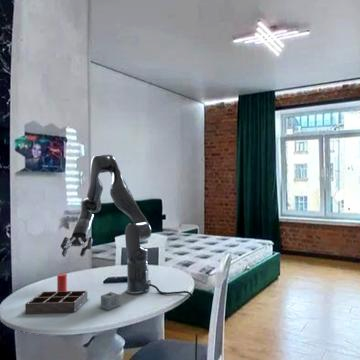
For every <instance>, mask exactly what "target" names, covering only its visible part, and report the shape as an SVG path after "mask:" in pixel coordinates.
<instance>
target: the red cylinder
mask: <svg viewBox="0 0 360 360" xmlns="http://www.w3.org/2000/svg"><path fill="white" fill-rule="evenodd" d="M56 279H57V280H56V281H57V282H56V283H57V288H56V289H57V290H56V291H68V274H67V273H59V274H57V277H56Z"/></svg>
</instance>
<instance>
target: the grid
mask: <svg viewBox="0 0 360 360" xmlns="http://www.w3.org/2000/svg"><path fill="white" fill-rule="evenodd" d="M87 300H88V290H67V291H57V290H56V291H42V292H40V293H39V294H38V295H36V296H35V297H33V298H31V299H30V300H29V301H27V302H26V303H25V304H24V305H25V314H54V313H55V314H56V313H57V314H58V313H59V314H60V313H61V314H62V313H75V312H77V310H78V309H79V308H80V307H82V305H83V304H85V302H87Z"/></svg>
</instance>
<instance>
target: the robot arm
mask: <svg viewBox="0 0 360 360" xmlns="http://www.w3.org/2000/svg"><path fill="white" fill-rule="evenodd" d="M103 173H104V174H105V173H110V175H111V178H112V181H111V184H110V185H111V186H110V190H109V195H110V197H111V200H112V201H113V203H114V205H115V206H116V207H117V209H118V210H120V211H121V212H123V213H124V214H125V215H127V217H129V219H131V221H132V222H130V223H127V225H126V226H125V230H124V237H125V250H126V255H127V257H126V259H127V261H126V262H127V263H126V266H127V268H126V270H127V271H126V272H127V276H126V277H127V279H126V286H127V287H126V292H127V293H128V294H131V295H138V294H143V293H147V291H148V290H149V289H150V288H151V287H152V288H154V289H155V290H156V291H157V292H158V293H159V294H161V295H179V294H187V295H190V296H191V297H194V295H193V293H192V292H190V291H188V290H180V291H169V292H168V291H167V292H166V291H161V290H160V289H159V288H158V286H156V285H154V284H152V280H151V279H149V268H148V251H149V250H148V248H147V247H144V246H141V241H146V240H149V238H151V236H152V227H151V225H150V223H149V220H148V219H147V218H146V216H145V215H144V214H143V212H142V211H141V209H140V207H139V206H138V203H137V202H136V199H135V198H134V195H133V194H132V192H131V190H130V188H129V187H128V185H127V183H126V181H125V178H124V177H123V174H122V173H121V170H120V167H119V165H118V162H117V160H116V158H115V157H114V155H112V154H98V155H94V156H93V157H92V159H91V162H90V174H89V177H90V178H89V186H88V190H87V194H86V197H85V198H83V199H82V201H81V203H80V214H79V217H78V220H77V222H76V224H75V226H74V228H73V230H72V235H71V237H67V236H65V237H64V238H63V239H62V242H61V244H60V248H61V250H62V251H61V256H62V257H63V258H66V256H67V255H68V254H67V253H68V251H69V250H70V249H72V248H73V247H81V246H82V248H81V251H80V254H79V255H80V257H84V256H85V254H86V251H87V250H91V249H92V246H93V242H94V240H93V237H92V236H90V237H89V235H90V231H91V230H92V224H93V221H94V218H95V213H99V212H100V211H101V208H102V200H101V197H102V193H103V191H104V186H103V183H102V181H101V180H100V178H99V175H100V174H103ZM86 242H87V244H86V245H85V243H86ZM194 341H195V343H194V347H195V348H194V360H198V333H195V339H194Z"/></svg>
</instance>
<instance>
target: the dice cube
mask: <svg viewBox="0 0 360 360" xmlns="http://www.w3.org/2000/svg"><path fill="white" fill-rule="evenodd" d="M119 306H120V294H119V293H116V292H113V291H110V292H108V293H105V294H102V295H100V308H101V309H104V310H106V311H111V310H113V309H115V308H117V307H119Z"/></svg>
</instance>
